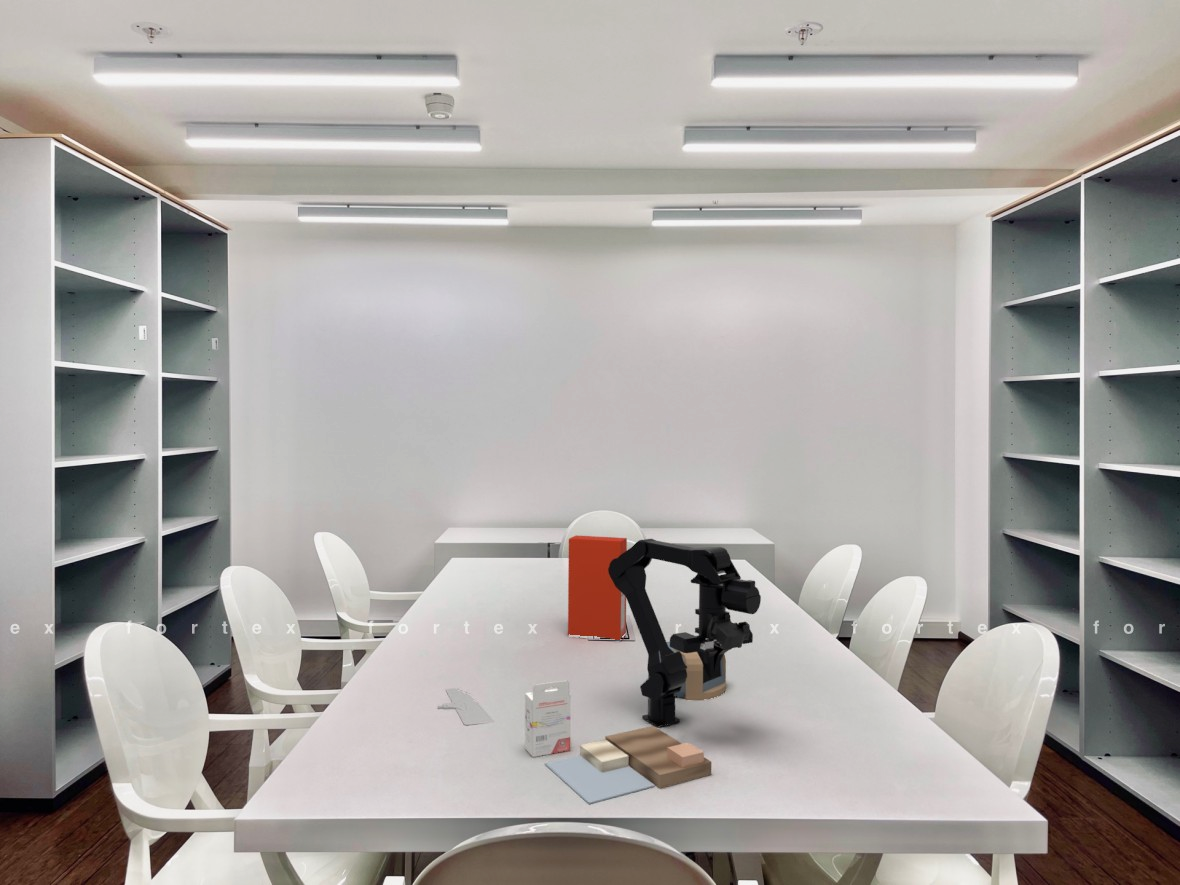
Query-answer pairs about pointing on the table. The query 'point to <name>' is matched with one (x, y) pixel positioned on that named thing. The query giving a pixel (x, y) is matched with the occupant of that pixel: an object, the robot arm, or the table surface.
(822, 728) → the table surface
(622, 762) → the birch tile
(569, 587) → the file binder
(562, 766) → the mat
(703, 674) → the alarm clock
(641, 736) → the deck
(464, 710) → the grey flat piece
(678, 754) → the terracotta tile
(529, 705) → the ink cartridge box
